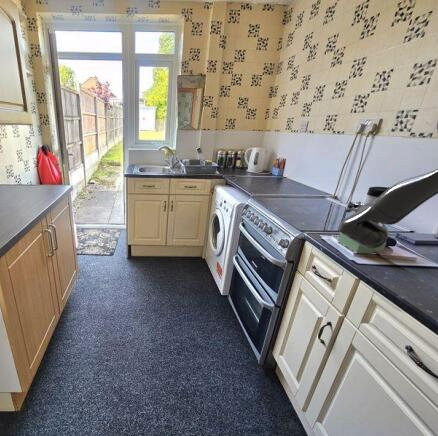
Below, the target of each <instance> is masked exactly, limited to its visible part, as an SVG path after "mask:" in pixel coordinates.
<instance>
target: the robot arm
mask: <svg viewBox="0 0 438 436" xmlns="http://www.w3.org/2000/svg"><path fill="white" fill-rule="evenodd" d="M436 132H437V133H438V122H437V124H436ZM389 187H390V188H389V189H387V190H386V191H385V192H384V193H383V194H382V195H381V196H380V197H378V198H377V199H376V200H375V201H374V202H373V203H372V204H363V203H362V201H358V202H355V203H354V202H352V201H349V202H348V204H347V206H346V209H345V212H346V213H352V212H354V213H352V214H351V215H349V216H347V217H346V218H344V219H343V220H342V221H341V222H340V224H339V233H340V232H341V233H342V234H343V235H345V236H347V237H348V238H350V239H351V240H353V241H355V242H356V243H358V244H359V245H361V246H363V247H365V248H368V249H374V248H378V247H380V246H382V245H383V244H384V243H385V242H386V243H387V240H388V238H389V229H388V227H387V225H388V226H392V225H396V224H398V223H399V222H401V221H402V220H404V219H405V218H406V217H408V216H409V215H410V214H411V213H412V212H414V211H415V210H417V209H418V208H419V207H420V206H422V205H423V204H424V203H426V202H427V201H429V200H430V199H432V198H433V197H435V196H436V195H438V168H436V169H434V170H431V171H428V172H425V173H423V174H419V175H417V176H413V177H410V178H406V179H403V180H401V181H399V182H396V183H395V184H393V185H391V186H389Z"/></svg>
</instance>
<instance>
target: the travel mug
mask: <svg viewBox="0 0 438 436" xmlns="http://www.w3.org/2000/svg"><path fill="white" fill-rule="evenodd" d="M390 187H391V186H370V187H369V188H368V190H367V193H366V195H365V197H364V200H363V202H362V204H372V203H373V202H374V201H375V200H376V199H377V198H378V197H380V196H381V195H382V194H383V193H384V192H385V191H386V190H387V189H389V188H390Z"/></svg>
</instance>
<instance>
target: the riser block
mask: <svg viewBox="0 0 438 436" xmlns="http://www.w3.org/2000/svg"><path fill="white" fill-rule="evenodd" d="M338 235H339V236H338V238H337V241H339V242H340V243H342V244H344V245H345V246H347V247H348V248H350V249H352V250H353V251H355V252H357V253H379V252H384V250H385V247H386V246H387V241H386V242H385V243H384V244H383V245H382V246H380V247H378V248H374V249H368V248H365V247H363V246H361V245H359V244H358V243H356V242H355V241H353V240H351V239H350V238H348V237H347V236H345V235H343V234H342V233H341V232H340V231H339V234H338ZM340 243H339V244H340ZM345 246H344V247H345ZM348 248H347V249H348ZM353 251H352V252H353Z"/></svg>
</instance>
